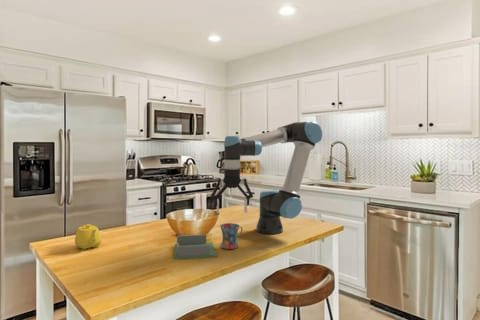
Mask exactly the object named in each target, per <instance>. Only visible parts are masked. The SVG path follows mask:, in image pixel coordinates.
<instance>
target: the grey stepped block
mask: <svg viewBox="0 0 480 320" xmlns="http://www.w3.org/2000/svg"><path fill="white" fill-rule="evenodd" d="M216 252H217V251H216V249H215V247H214V244H213V241H207V234H205V233H204V234H187V235H186V234H185V235H183V234H182V235H177V236H176V243H175V244H174V260H179V259H182V260H183V259H195V258H196V259H197V258H198V259H199V258H201V259H202V258H214V257H217V253H216Z"/></svg>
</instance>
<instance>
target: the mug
mask: <svg viewBox="0 0 480 320" xmlns="http://www.w3.org/2000/svg"><path fill="white" fill-rule="evenodd" d="M219 227H220V229H221V234H222V240H221V244H220V247H221V248H223V249H225V250H234V249H235V250H236V249H237V248H239V243H238V238H239V237H240V236H241V234H242V233H243V227H242V226H240V224H238V223H234V222H233V223H231V222H230V223H229V222H228V223H227V222H226V223H222V224H220V225H219ZM239 229H240V231H239ZM238 231H239V234H238Z"/></svg>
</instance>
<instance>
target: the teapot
mask: <svg viewBox="0 0 480 320" xmlns="http://www.w3.org/2000/svg"><path fill="white" fill-rule="evenodd" d="M101 243H102V235H101V232H100V230H99V228H98V226H96V225H92V224H90V223H87V224H85V225H82V226H80V227H78V228H77V230H76V233H75V238H74V244H75V245H76V247H77V248H78V249H79V248H80V249H81V251H86V250H87V249H89V248H94V249H98V248H99V246H100V245H101Z"/></svg>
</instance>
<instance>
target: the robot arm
mask: <svg viewBox="0 0 480 320" xmlns="http://www.w3.org/2000/svg"><path fill="white" fill-rule="evenodd" d="M322 138H323V130H322V127H321V124H319V123H318V122H316V121H311V120H310V121H309V120H307V121H298V122H292V123H288V124H286V125H283V126H279V127H277V129H274V130H270V131H267V132H263V133H260V134H255V135H251V136H246V137H243V138H241V136H239V135H237V136H236V135H226V136H225V138H224V143H223V146H224V148H223V149H224V154H223V155H224V157H223V158H224V163H223V164H224V167H223V168H224V170H223V172H224V173H223V174H224V175H223V176H224V177H223V179H222V178H217V180H216V181H217V182H216V184H215V186H214V188H213V191H212V192H211V194H210V198H211V199H212V200H214V201H213V202H214V207H216V214H219V213H220V207H219V205H220V200H219V198H220V197H221V195H222V194H223V193H224V191H226V190H227V189H236V188H237V189H238V190H239V191H240V192H241V193H242V194H243V196H244V197H245V198H244V200H243V201H244V206H243V207H244V208H243V209H244V211H243V212H244V213H245V214H247V213H248V206H249V205H250V199H253V198H254V196H253V193H252V191H251V189H250V186H249V185H248V179H247V178H241V169H240V168H241V157H244V156H245V157H248V156H249V157H250V156H251V157H256V156H260V155H261V154H262V151H263V148H265V147H269V146H273V145H277V144H279V143H280V144H286V143H287V144H288V143H293V145H294V150H293V153H292V156H291V160H290V163H289V166H288V170H287V173H286V175H285V179H284V182H283V187H282V188H280V189H279V190H278V189H277V190H275V189H274V190H263V191H261V192H260V193H259V218H258V221H257V222H256V223H257V224H256V227H255V231H256V232H257V233H260V234H265V235H275V234H276V235H277V234H281V233H283V231H284V229H283V228H284V226H283V223H282V220H281V217H282V218H283V219H289V220H290V219H295V218H297V216H299V215H300V213H301V212H302V208H303V204H302V201H301V199H300V198H301V194H300V188H301V184H302V181H303V177H304V174H305V171H306V167H307V165H308V160H309V156H310V154H311V151H312V150H313V149H315V146H316V144H319V142H321V140H322ZM222 183H224V185H223V186H222V187H221V189H220V190H219V187H220V185H221V184H222ZM240 183H242V184H243V185H244V188H245V189H246V191H247V192H245V190H244V189H243V188H242V187H241V185H240ZM218 190H219V191H218Z"/></svg>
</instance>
